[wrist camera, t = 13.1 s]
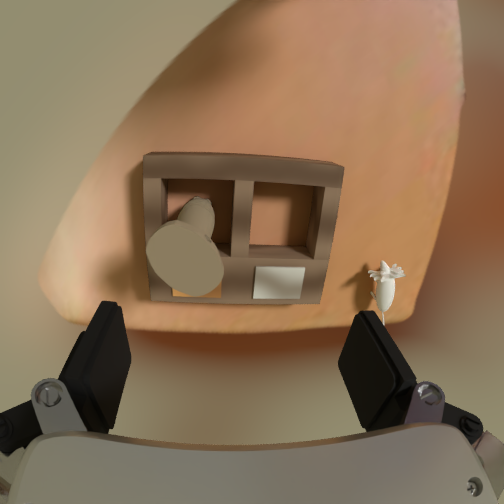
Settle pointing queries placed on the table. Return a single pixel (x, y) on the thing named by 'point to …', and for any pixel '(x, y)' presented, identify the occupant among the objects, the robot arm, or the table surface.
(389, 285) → the white animal figurine
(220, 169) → the socket block
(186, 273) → the handle
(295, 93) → the table surface
